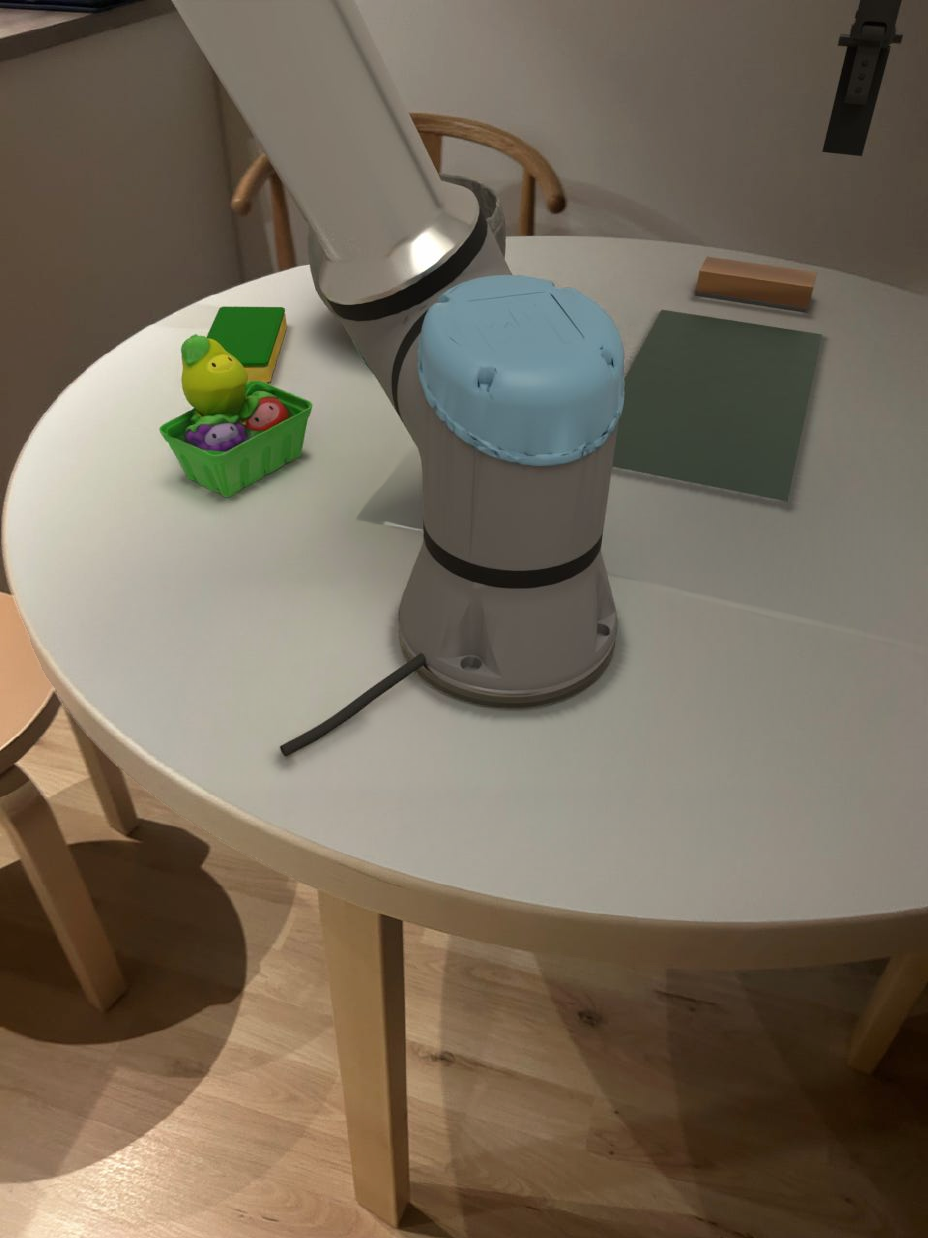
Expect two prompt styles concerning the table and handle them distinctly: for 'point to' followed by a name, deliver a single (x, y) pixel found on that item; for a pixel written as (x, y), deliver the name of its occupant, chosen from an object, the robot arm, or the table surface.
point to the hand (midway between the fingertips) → (842, 150)
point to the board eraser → (756, 284)
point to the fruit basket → (232, 421)
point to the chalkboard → (717, 403)
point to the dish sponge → (251, 337)
